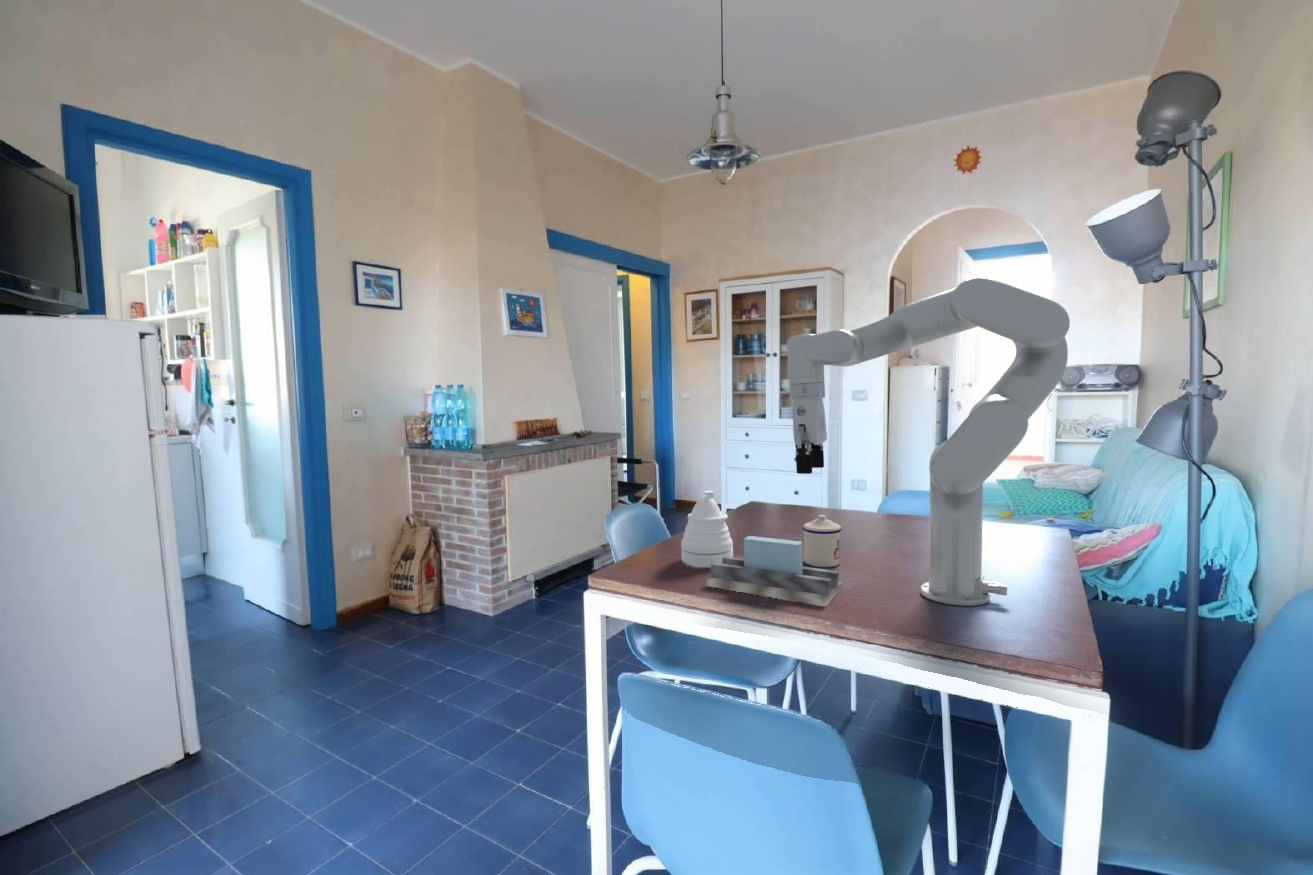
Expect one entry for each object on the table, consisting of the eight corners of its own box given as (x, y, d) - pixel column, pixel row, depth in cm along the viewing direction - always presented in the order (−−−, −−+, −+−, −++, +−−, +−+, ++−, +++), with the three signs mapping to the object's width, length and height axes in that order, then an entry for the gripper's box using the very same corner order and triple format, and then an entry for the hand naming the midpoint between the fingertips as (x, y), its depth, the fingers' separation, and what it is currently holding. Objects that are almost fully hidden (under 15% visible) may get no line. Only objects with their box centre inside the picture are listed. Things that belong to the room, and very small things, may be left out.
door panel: (802, 583, 130) (802, 541, 130) (797, 587, 128) (797, 544, 127) (750, 575, 137) (749, 535, 136) (744, 579, 134) (743, 538, 133)
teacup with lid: (843, 568, 145) (843, 519, 144) (803, 567, 147) (803, 519, 146) (839, 554, 157) (838, 509, 156) (802, 553, 159) (802, 509, 158)
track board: (841, 589, 131) (841, 568, 130) (825, 606, 121) (825, 584, 120) (729, 572, 144) (729, 553, 144) (706, 587, 134) (706, 566, 134)
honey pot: (742, 564, 151) (741, 491, 149) (694, 571, 146) (693, 496, 144) (718, 552, 163) (717, 484, 161) (673, 558, 158) (671, 488, 156)
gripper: (813, 392, 125) (817, 476, 126) (834, 390, 140) (837, 465, 141) (777, 394, 128) (781, 475, 129) (801, 392, 143) (805, 465, 144)
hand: (810, 470), depth 135 cm, fingers open, 9 cm apart
